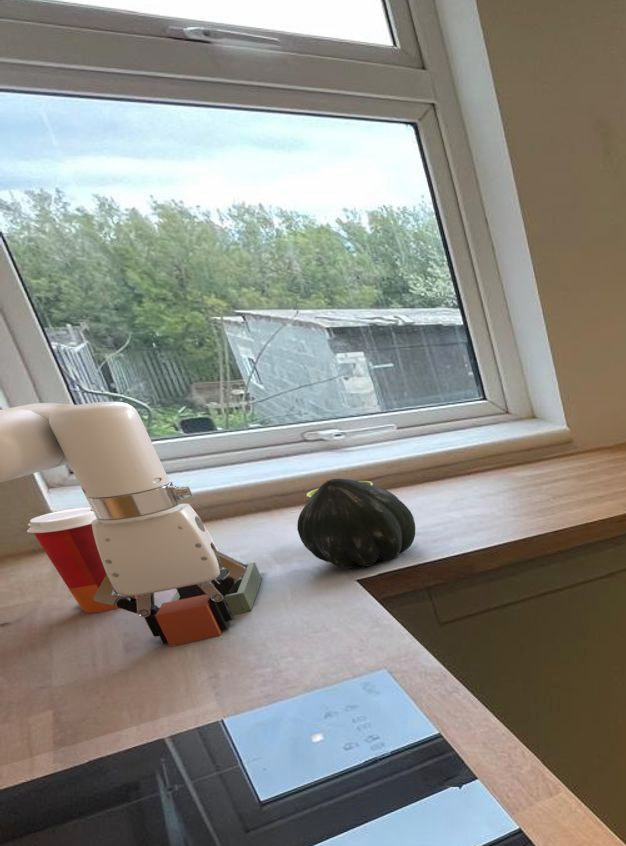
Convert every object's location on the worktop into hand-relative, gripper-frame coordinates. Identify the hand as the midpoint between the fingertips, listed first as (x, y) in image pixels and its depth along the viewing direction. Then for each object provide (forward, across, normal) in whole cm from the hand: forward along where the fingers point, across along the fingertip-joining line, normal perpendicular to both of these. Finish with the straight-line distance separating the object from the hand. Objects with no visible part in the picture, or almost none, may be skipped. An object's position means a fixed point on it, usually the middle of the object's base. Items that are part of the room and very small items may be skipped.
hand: (197, 631), depth 108 cm
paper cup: (+1, +12, -23) cm, 26 cm away
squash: (+1, -19, -19) cm, 27 cm away
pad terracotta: (0, 0, 0) cm, 0 cm away
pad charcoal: (0, -1, -9) cm, 9 cm away
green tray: (0, -1, -13) cm, 13 cm away
